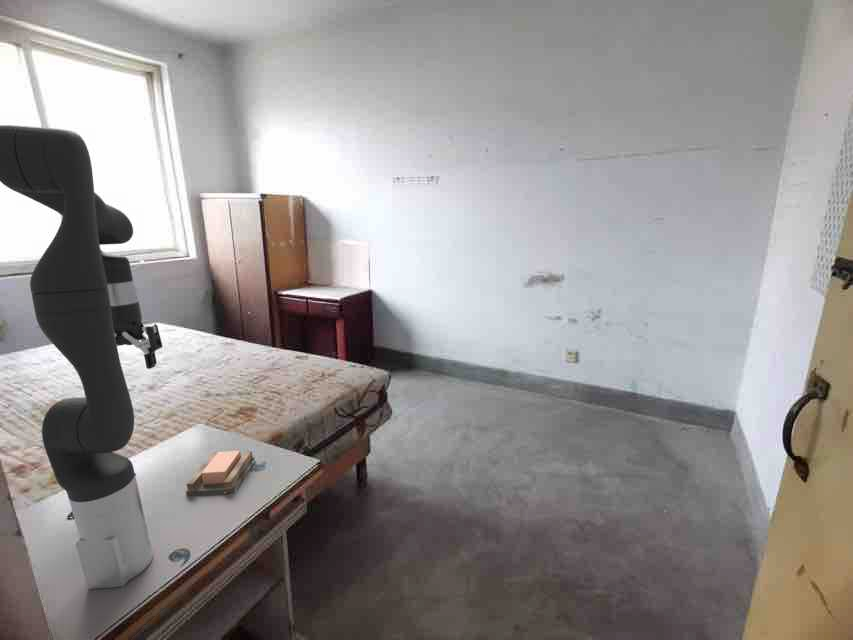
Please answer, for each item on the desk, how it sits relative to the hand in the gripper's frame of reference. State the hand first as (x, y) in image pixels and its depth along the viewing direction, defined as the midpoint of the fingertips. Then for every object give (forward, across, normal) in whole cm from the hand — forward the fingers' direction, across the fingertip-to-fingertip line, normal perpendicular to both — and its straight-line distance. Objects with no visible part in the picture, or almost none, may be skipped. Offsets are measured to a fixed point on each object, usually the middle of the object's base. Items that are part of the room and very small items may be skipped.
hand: (132, 368), depth 97 cm
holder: (+28, -18, +4) cm, 34 cm away
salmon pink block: (+27, -18, +3) cm, 33 cm away
